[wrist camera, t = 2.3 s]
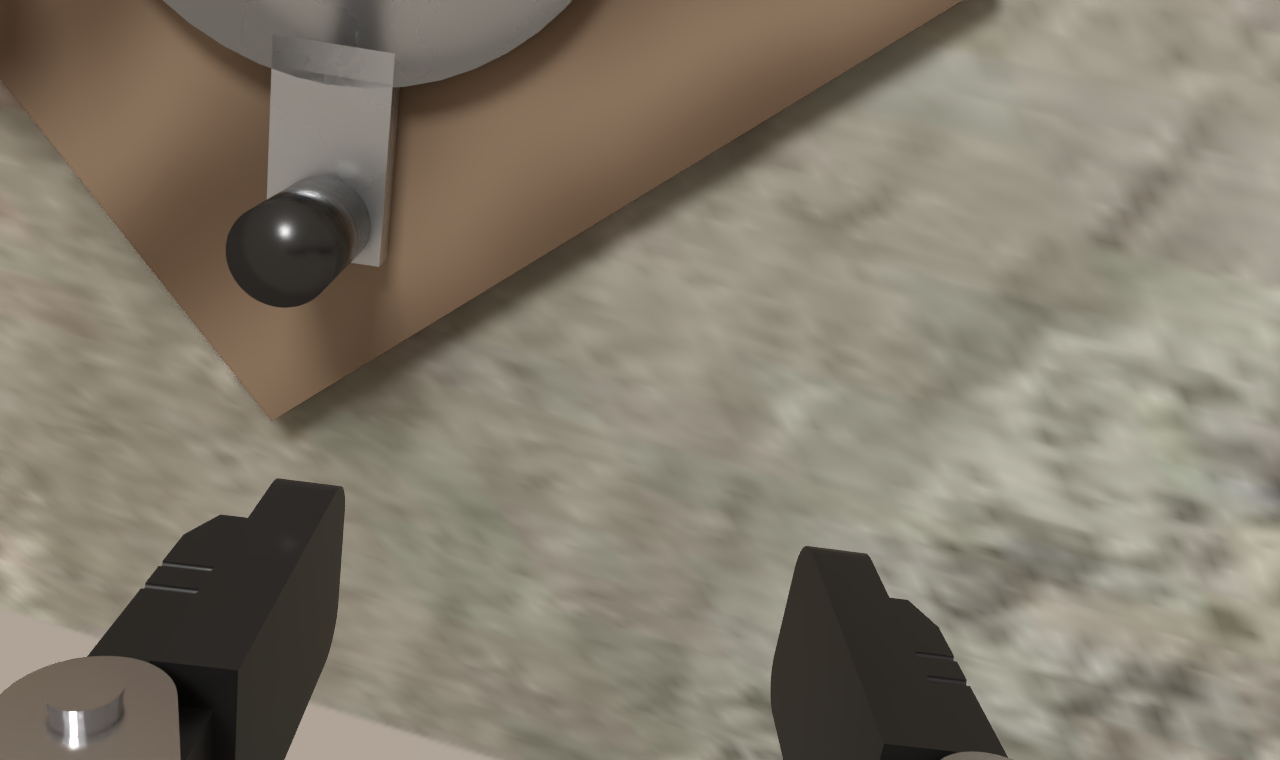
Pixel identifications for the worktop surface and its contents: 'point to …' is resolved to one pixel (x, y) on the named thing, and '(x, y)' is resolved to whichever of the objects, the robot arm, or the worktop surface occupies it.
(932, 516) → the worktop surface
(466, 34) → the pot lid with knob
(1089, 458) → the worktop surface
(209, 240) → the walnut board
